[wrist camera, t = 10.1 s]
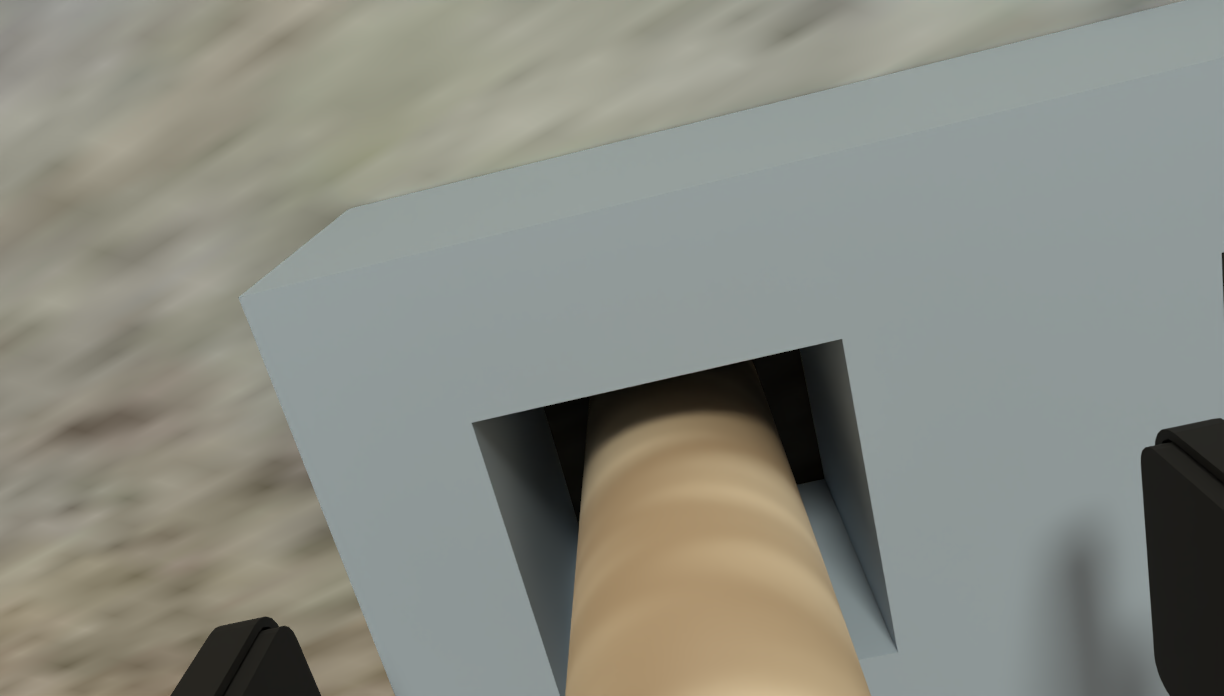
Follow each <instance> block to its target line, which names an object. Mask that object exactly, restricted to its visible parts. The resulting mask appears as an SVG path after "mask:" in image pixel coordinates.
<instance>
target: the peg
mask: <svg viewBox="0 0 1224 696" xmlns="http://www.w3.org/2000/svg"><path fill="white" fill-rule="evenodd" d="M565 696H871V694H870V691H869V688H868V685H867V682H866V680H865V677H864V674H863V671H862V668H861V665H860V663H859V660H858V657H857V654H856V651H855V648H854V646H853V643H852V640H851V637H850V634H849V632H848V629H847V626H846V623H845V620H844V617H843V615H842V612H841V609H840V606H839V603H838V600H837V598H836V595H835V592H834V589H833V586H832V583H831V581H830V578H829V575H828V572H827V569H826V566H825V564H824V561H823V558H822V555H821V552H820V549H819V547H818V544H817V541H816V538H815V535H814V533H813V530H812V527H811V524H810V521H809V518H808V516H807V513H806V510H805V507H804V504H803V501H802V499H801V496H800V493H799V490H798V487H797V484H796V482H795V479H794V476H793V473H792V470H791V467H790V465H789V462H788V459H787V456H786V453H785V450H784V448H783V445H782V442H781V439H780V436H779V434H778V431H777V428H776V425H775V422H774V419H773V417H772V414H771V411H770V408H769V405H768V402H767V400H766V397H765V394H764V391H763V388H762V385H761V383H760V380H759V377H758V374H757V371H756V368H755V366H754V364H753V362H752V359H751V360H746V361H742V362H738V363H733V364H729V365H724V366H720V367H716V368H711V369H707V370H702V371H698V372H693V373H689V374H685V375H680V376H676V377H671V378H667V379H663V380H658V381H654V382H649V383H645V384H640V385H636V386H632V387H627V388H623V389H618V390H614V391H610V392H605V393H601V394H596V395H592V396H590V398H589V411H588V423H587V435H586V447H585V459H584V472H583V484H582V496H581V508H580V520H579V533H578V545H577V557H576V569H575V582H574V594H573V606H572V618H571V630H570V643H569V655H568V667H567V679H566V691H565Z"/></svg>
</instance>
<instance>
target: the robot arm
mask: <svg viewBox="0 0 1224 696" xmlns="http://www.w3.org/2000/svg"><path fill="white" fill-rule="evenodd" d="M1141 476H1142V490H1143V504H1144V518H1145V532H1146V546H1147V561H1148V575H1149V589H1150V603H1151V617H1152V631H1153V645H1154V657H1155V664H1156V667H1157V671H1158V674H1159V676H1160V679H1161V681H1162V683H1163V685H1164V687H1165V689H1166V691H1167V692H1168V694H1169V695H1170V696H1224V419H1222V418H1215V419H1210V420H1205V421H1200V422H1195V423H1191V424H1186V425H1181V426H1176V427H1171V428H1167V429H1162V430H1161V431H1160V432H1159V433H1158V434H1157V436H1156V440H1155V445H1154V446H1149V447H1145V448H1144V449H1143V450H1142V453H1141ZM171 696H321V694H320V692H319V690H318V687H317V685H316V683H315V680H314V678H313V676H312V673H311V671H310V669H309V666H308V664H307V661H306V659H305V657H304V654H303V652H302V650H301V647H300V645H299V643H298V640H297V638H296V636H295V634H294V632H293V631H292V630H291V629H290V628H289V627H287V626H281V627H279V626H278V624H277V623H276V622H275V621H274V620H273V619H272V618H269V617H261V618H257V619H252V620H247V621H242V622H237V623H233V624H228V625H223V626H220V627H217V628H215V629H214V630H213V631H212V632H211V634H210V635H209V637H208V638H207V640H206V641H205V643H204V644H203V646H202V648H201V649H200V651H199V652H198V654H197V655H196V657H195V658H194V660H193V661H192V663H191V665H190V666H189V668H188V669H187V671H186V672H185V674H184V675H183V677H182V679H181V680H180V682H179V683H178V685H177V686H176V688H175V689H174V691H173V693H172V694H171Z"/></svg>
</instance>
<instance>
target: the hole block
mask: <svg viewBox="0 0 1224 696" xmlns="http://www.w3.org/2000/svg"><path fill="white" fill-rule="evenodd" d="M1223 252H1224V0H1185V1H1181V2H1177V3H1173V4H1169V5H1165V6H1161V7H1157V8H1152V9H1148V10H1144V11H1140V12H1136V13H1132V14H1128V15H1124V16H1120V17H1116V18H1112V19H1108V20H1104V21H1100V22H1096V23H1092V24H1088V25H1084V26H1080V27H1076V28H1072V29H1068V30H1064V31H1060V32H1056V33H1052V34H1048V35H1044V36H1040V37H1036V38H1032V39H1028V40H1024V41H1020V42H1016V43H1012V44H1008V45H1004V46H1000V47H996V48H992V49H988V50H984V51H980V52H976V53H972V54H968V55H964V56H960V57H956V58H952V59H948V60H944V61H940V62H936V63H932V64H928V65H924V66H920V67H916V68H912V69H908V70H904V71H900V72H896V73H892V74H888V75H884V76H880V77H876V78H872V79H868V80H864V81H860V82H856V83H852V84H848V85H844V86H840V87H836V88H832V89H828V90H824V91H820V92H816V93H812V94H808V95H804V96H800V97H796V98H792V99H788V100H784V101H780V102H776V103H772V104H768V105H764V106H760V107H756V108H752V109H748V110H744V111H740V112H736V113H732V114H728V115H723V116H719V117H715V118H711V119H707V120H703V121H699V122H695V123H691V124H687V125H683V126H679V127H675V128H671V129H667V130H663V131H659V132H655V133H651V134H647V135H643V136H639V137H635V138H631V139H627V140H623V141H619V142H615V143H611V144H607V145H603V146H599V147H595V148H591V149H587V150H583V151H579V152H575V153H571V154H567V155H563V156H559V157H555V158H551V159H547V160H543V161H539V162H535V163H531V164H527V165H523V166H519V167H515V168H511V169H507V170H503V171H499V172H495V173H491V174H487V175H483V176H479V177H475V178H471V179H467V180H463V181H459V182H455V183H451V184H447V185H443V186H439V187H435V188H431V189H427V190H423V191H419V192H415V193H411V194H407V195H403V196H399V197H395V198H391V199H387V200H383V201H379V202H375V203H371V204H367V205H363V206H359V207H355V208H351V209H348V210H347V211H346V212H344V213H343V214H342V215H341V216H339V217H338V218H337V219H336V220H334V221H333V222H332V223H331V224H329V225H328V226H327V227H326V228H324V229H323V230H322V231H321V232H319V233H318V234H317V235H316V236H314V237H313V238H312V239H311V240H309V241H308V242H307V243H306V244H304V245H303V246H302V247H301V248H299V249H298V250H297V251H296V252H294V253H293V254H292V255H291V256H289V257H288V258H287V259H286V260H284V261H283V262H282V263H281V264H279V265H278V266H277V267H276V268H274V269H273V270H272V271H271V272H269V273H268V274H267V275H266V276H264V277H263V278H262V279H261V280H259V281H258V282H257V283H256V284H254V285H253V286H252V287H251V288H249V289H248V290H247V291H246V292H244V293H243V294H242V295H241V296H239V300H240V302H241V305H242V308H243V310H244V313H245V315H246V318H247V320H248V323H249V325H250V328H251V330H252V333H253V335H254V338H255V341H256V343H257V346H258V348H259V351H260V353H261V356H262V358H263V361H264V363H265V366H266V368H267V371H268V374H269V376H270V379H271V381H272V384H273V386H274V389H275V391H276V394H277V396H278V399H279V402H280V404H281V407H282V409H283V412H284V414H285V417H286V419H287V422H288V424H289V427H290V429H291V432H292V435H293V437H294V440H295V442H296V445H297V447H298V450H299V452H300V455H301V457H302V460H303V463H304V465H305V468H306V470H307V473H308V475H309V478H310V480H311V483H312V485H313V488H314V490H315V493H316V496H317V498H318V501H319V503H320V506H321V508H322V511H323V513H324V516H325V518H326V521H327V523H328V526H329V529H330V531H331V534H332V536H333V539H334V541H335V544H336V546H337V549H338V551H339V554H340V557H341V559H342V562H343V564H344V567H345V569H346V572H347V574H348V577H349V579H350V582H351V584H352V587H353V590H354V592H355V595H356V597H357V600H358V602H359V605H360V607H361V610H362V612H363V615H364V617H365V620H366V623H367V625H368V628H369V630H370V633H371V635H372V638H373V640H374V643H375V645H376V648H377V651H378V653H379V656H380V658H381V661H382V663H383V666H384V668H385V671H386V673H387V676H388V678H389V681H390V684H391V686H392V689H393V691H394V694H395V696H565V691H566V679H567V667H568V655H569V643H570V630H571V618H572V606H573V594H574V582H575V569H576V557H577V545H578V533H579V525H578V521H577V518H576V515H575V511H574V508H573V504H572V501H571V498H570V494H569V491H568V487H567V484H566V481H565V477H564V474H563V471H562V467H561V464H560V460H559V457H558V454H557V450H556V447H555V443H554V440H553V437H552V433H551V430H550V426H549V423H548V420H547V416H546V413H545V409H544V406H548V405H552V404H557V403H561V402H565V401H570V400H574V399H579V398H583V397H587V396H592V395H596V394H601V393H605V392H610V391H614V390H618V389H623V388H627V387H632V386H636V385H640V384H645V383H649V382H654V381H658V380H663V379H667V378H671V377H676V376H680V375H685V374H689V373H693V372H698V371H702V370H707V369H711V368H716V367H720V366H724V365H729V364H733V363H738V362H742V361H746V360H751V359H755V358H760V357H764V356H768V355H773V354H777V353H782V352H786V351H791V350H795V349H799V350H800V356H801V361H802V366H803V371H804V376H805V381H806V386H807V392H808V397H809V402H810V407H811V412H812V417H813V422H814V428H815V433H816V438H817V443H818V448H819V453H820V458H821V464H822V469H823V474H824V479H821V480H816V481H812V482H807V483H802V484H798V485H797V487H798V490H799V493H800V496H801V499H802V501H803V504H804V507H805V510H806V513H807V516H808V518H809V521H810V524H811V527H812V530H813V533H814V535H815V538H816V541H817V544H818V547H819V549H820V552H821V555H822V558H823V561H824V564H825V566H826V569H827V572H828V575H829V578H830V581H831V583H832V586H833V589H834V592H835V595H836V598H837V600H838V603H839V606H840V609H841V612H842V615H843V617H844V620H845V623H846V626H847V629H848V632H849V634H850V637H851V640H852V643H853V646H854V648H855V651H856V654H857V657H858V660H859V663H860V665H861V668H862V671H863V674H864V677H865V680H866V682H867V685H868V688H869V691H870V694H871V696H1170V695H1169V694H1168V692H1167V691H1166V689H1165V687H1164V685H1163V683H1162V681H1161V679H1160V676H1159V674H1158V671H1157V667H1156V664H1155V657H1154V645H1153V631H1152V617H1151V603H1150V589H1149V575H1148V561H1147V546H1146V532H1145V518H1144V504H1143V490H1142V476H1141V453H1142V450H1143V449H1144V448H1145V447H1149V446H1154V445H1155V440H1156V436H1157V434H1158V433H1159V432H1160V431H1161V430H1162V429H1167V428H1171V427H1176V426H1181V425H1186V424H1191V423H1195V422H1200V421H1205V420H1210V419H1215V418H1222V419H1224V304H1223V277H1222V253H1223Z"/></svg>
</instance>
